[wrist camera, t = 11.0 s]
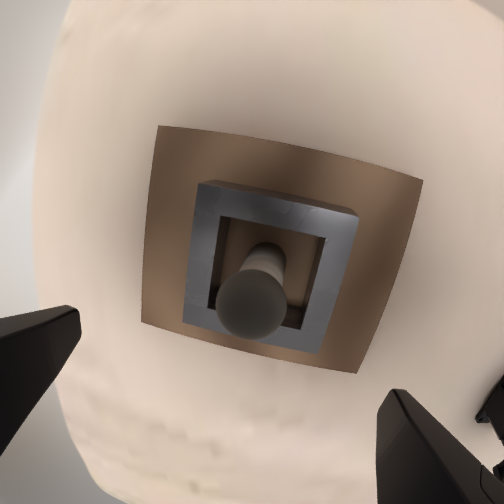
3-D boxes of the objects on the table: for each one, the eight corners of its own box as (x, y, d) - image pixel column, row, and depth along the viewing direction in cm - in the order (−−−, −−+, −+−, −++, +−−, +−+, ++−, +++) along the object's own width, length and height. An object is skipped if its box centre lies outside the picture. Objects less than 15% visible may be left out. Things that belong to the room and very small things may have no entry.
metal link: (350, 208, 15) (359, 217, 12) (316, 329, 17) (317, 354, 14) (213, 179, 15) (198, 183, 13) (196, 302, 17) (182, 322, 15)
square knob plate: (413, 178, 15) (491, 196, 7) (353, 359, 19) (369, 453, 11) (169, 127, 16) (82, 114, 9) (151, 311, 20) (87, 381, 12)
